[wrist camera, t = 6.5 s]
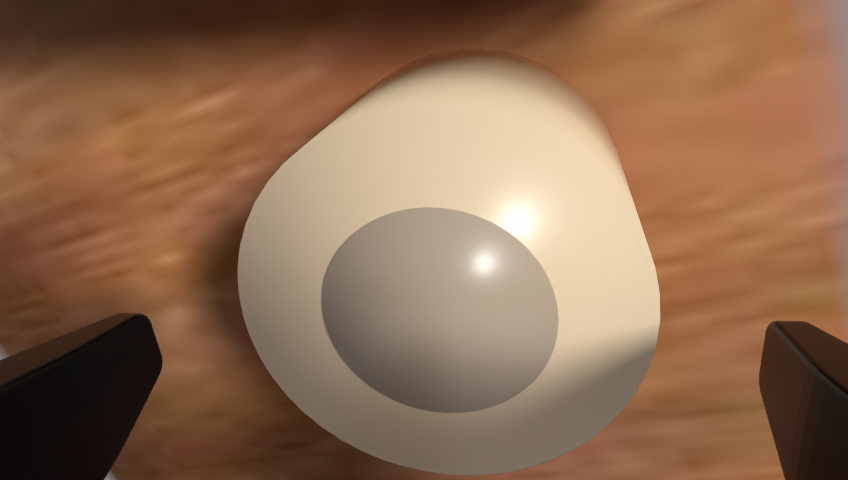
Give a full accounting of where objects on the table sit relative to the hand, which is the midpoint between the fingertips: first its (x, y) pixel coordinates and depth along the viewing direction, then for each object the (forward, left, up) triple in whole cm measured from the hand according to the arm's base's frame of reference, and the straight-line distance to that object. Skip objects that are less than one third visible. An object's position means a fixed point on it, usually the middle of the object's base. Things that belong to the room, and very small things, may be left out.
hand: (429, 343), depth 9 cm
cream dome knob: (0, 0, -6) cm, 6 cm away
